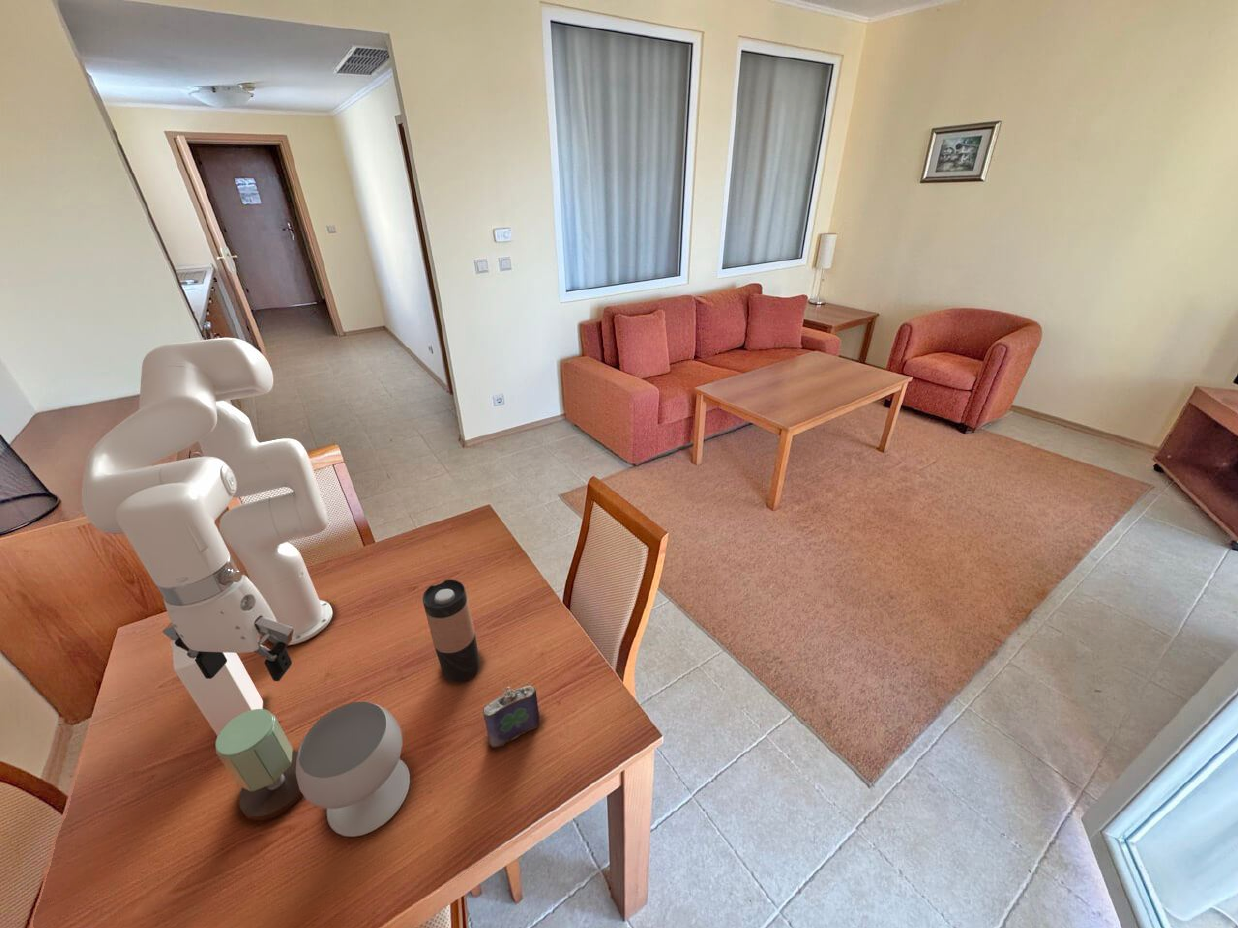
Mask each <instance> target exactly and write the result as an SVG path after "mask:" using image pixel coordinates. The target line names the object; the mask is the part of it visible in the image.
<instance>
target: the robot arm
mask: <svg viewBox="0 0 1238 928" xmlns="http://www.w3.org/2000/svg"><path fill="white" fill-rule="evenodd" d="M269 363H270V362H269V361H268V359H267V358H266V357H265V355H264V354H263V353H262V352H261V351H259V349H257V348H256V347H255V346H254V345H252V344H251V343H249V342H247V341H246V340H242V339H240V338H235V337H221V338H220V337H218V338H212V339H203V340H194V341H185V342H177V343H169V344H165V345H160V346H158V347H156V348H153V349H151V350H150V351H149V352H148V353H147V354H146V355H145V356H144V357H143V360H142V365H141V377H140V389H139V403H138V410H136V411H135V412H133V413H132V414H130V415H129V416H128V417H126V418H124V419H123V420H122V421H120V423H118V424H117V425H115V426H114V427H113V428H111V430H110V431H109V432H107V433H106V434H105V435H103V437H101V438H100V439H99V440H98V441H97V442H96V443H95V444H94V446H93V447H92V448H91V450H90V451H89V453H88V454H87V457H86V459H85V460H86V461H85V464H84V470H83V477H82V484H81V503H82V509H83V512H84V514H85V516H86V518H87V520H88V522H89V523H90V524H91V525H92V526H93V527H94V528H95V529H97V530H99V531H100V532H103V533H106V534H111V535H124V536H125V538H126V539H127V540H128V543H129V544H130V546H131V547H132V549H133V550H134V553H135V554H136V555H137V557H138V559H139V561H140V562H141V564H142V565H143V567H144V568H145V570H146V572H147V574H148V575H149V577H150V578H151V580H152V582H153V583H154V585H155V587H156V588H157V591H158V592H159V593H160V595H161V596H162V599H163V603H164V606H165V609H166V612H167V614H168V617H169V620H170V621H171V622H170V623H169V624H168V625H167V626H166V627H165V628H164V629H163V630H162V633H163V634H164V635H165V636H167V637H168V638H169V639H171V641H175V644H176V646H178V647H180V648H182V649H184V650H186V651H188V652H187V656H188V657H190V658H196V659H195V662H196V663H197V665H198V666H199V668H200V670H201V671H202V673H203V675H204V676H205V678H206V679H211V678H213V677H214V676H215V675H216V674H217V672H218V671H219V670H220V669H221V668H222V667H223V666H224V665H225V664H226V662H227V659H226V657H225V655H224V654H223V652H229V653H237V654H247V653H248V654H249V653H253V652H254V653H256V654H258V655H259V656H261V657H262V658H264V659H265V660H264V662H263V663H264V666H265V667H266V670H267V671H268V674H269V676H270V677H271V679H272V680H273V681H274V682H280V681H281V679H282V678H283V677H284V675H285V674H286V673H287V672H288V671H289V669H290V668H291V666H292V664H293V661H292V659H291V657H290V654H289V652H288V651H287V649H286V648H287V647H288V646H291V645H297V644H300V643H303V642H306V641H308V640H310V639H312V638H313V637H315V636H317V635H318V634H319V633H321V632H322V631H323V630H324V629H326V627H327V626H328V625H329V623H330V622H331V620H332V618H333V614H334V613H333V609H332V605H330V603H329V602H327V601H325V600H323V599H320V598H319V595H318V593H317V590H316V588H315V586H314V583H313V581H312V578H311V576H310V572H309V571H308V568H307V566H306V564H305V561H304V558H303V557H302V554H301V552H300V551H299V550H298V548H296V547H295V546H294V545H293V544H291V543H290V542H293V541H297V540H300V539H304V538H308V537H310V536H314V535H317V534H320V533H322V532H323V531H325V530H326V528H327V527H328V524H329V516H328V512H327V508H326V505H325V501H324V497H323V496H322V493H321V490H320V487H319V483H318V480H317V476H316V474H315V470H314V467H313V465H312V462H311V459H310V457H309V455H308V452H307V450H306V448H305V447H304V446H303V444H302V443H301V442H300V441H298V440H297V439H295V438H291V437H290V438H289V437H286V438H285V437H284V438H277V439H274V440H267V441H263V442H260V441H258V440H257V437H256V434H255V431H254V428H253V426H252V422H251V420H250V419H249V417H248V416H247V415H246V414H245V413H244V412H242V411H241V410H240V409H238V408H237V407H235V406H234V405H233V404H230V403H228V401H232V400H240V399H246V398H251V397H252V398H253V397H257V396H262V395H267V394H268V393H270V392H271V390H272V389H273V387H274V375H273V370H272V367H271V365H270V364H269ZM196 443H198V444H199V445H200V449H201V451H202V452H201V453H202V455H203V456H198V457H192V458H186V459H181V460H175V461H171V462H166V463H164V462H163V463H159V464H158V462H160V461H161V460H164V459H166V458H168V457H169V456H173V455H174V454H177V453H178V452H181V451H183V450H185V449H188V448H189V447H191V446H193V445H194V444H196ZM156 463H157V464H156ZM282 488H288V489H290V490H291V492H288V493H283V494H279V495H276V496H275V495H274V496H271V497H266V498H262V499H258V500H253V501H249V502H245V503H242V504H239V505H237V506H234V507H232V508H230V509H228V510H227V511H226V509H227V508H228V507H229V506H230V504H231V503H232V500H233V499H234V498H235V499H236V498H241V497H249V496H253V495H256V494H261V493H266V492H271V491H274V490H278V489H282ZM224 511H226V512H224ZM222 513H223V515H222V516H221V514H222ZM220 516H221V517H220ZM219 517H220V520H219V529H218V527H217V524H216V523H215V522H216V520H217V519H218V518H219ZM226 544H227V545H226ZM227 546H228V547H229V548H230V549H231V551H232V552H233V553H234V554H235V556H236V557H237V558H238V560H239V562H240V563H241V565H242V566H243V568H244V570H245V572H246V574H247V575H245V574H242V572H241V571H240V570H238V568H237V565H236V562H235V561H234V559H233V557H232V555H231V553H230V550H229V549H228V547H227ZM260 635H261V636H260ZM266 640H267V641H268V642H270V643H272V644H274V645H273V647H272V648H271V649H269V648H267V647H266V646H265V645H263V644H264V643H265V642H266Z"/></svg>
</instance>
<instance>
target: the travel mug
mask: <svg viewBox="0 0 1238 928" xmlns="http://www.w3.org/2000/svg"><path fill="white" fill-rule="evenodd" d="M422 604H423V607H424V611H425V615H426V619H427V623H428V628H429V631H430V635H431V638H432V642H433V643H432V644H433V646H434V649H435V652H436V655H437V658H438V662H439V665H440V667H441V671H442V674H443V676H444V678H445V679H446V680H447V681H448V682H451V683H463V682H467V681H468V680H470V679H471V678H473V677H474V676H475V675H476V674H477V672H478V671H479V669H480V655H479V650H478V644H477V643H478V642H477V637H476V632H475V627H474V622H473V619H472V614H471V609H470V605H469V601H468V596H467V592H466V588H465V585H464V584H463V583H462V582H461V581H459V580H456V579H444V580H443V581H442V582H441V583H438V584H432V585H430V586H429V587H427V588H426V590H425V591H424V592H423V594H422Z"/></svg>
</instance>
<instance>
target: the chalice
mask: <svg viewBox="0 0 1238 928" xmlns="http://www.w3.org/2000/svg"><path fill="white" fill-rule="evenodd" d="M402 748H403V733H402V729H401V727H400V725H399V722H398V721H397V719H396V717H394V716H393V715H392V713H390V711H389V710H388V709H386V708H385V707H383V706H381V705H380V704H377V703H375V702H370V701H354V702H350V703H346V704H343V705H340V706H338V707H336V708H334V709H332V710H331V711H329V712H327V713H326V714H325V715H324V716H322V717H321V718H319V719H318V720H317V721H316V722H315V723H314V724H313V725H312V726H311V727H310V729H309V730H308V731H307V733H306V734H305V736H304V738H303V739H302V741H301V743H300V745H299V748H298V751H297V752H298V755H297V760H296V777H297V782H298V786H299V789H300V791H301V793H302V794H303V796H302V797H303V798H304V799H305V800H306V801H307V802H309V803H310V804H312V805H313V806H316V807H318V808H322V809H326V812H325V813H326V819H327V823H328V825H329V827H330V829H331V830H332V831H334V832H335V833H336V834H339V835H341V836H343V837H352V838H353V837H358V836H364V835H366V834H368V833H371V832H374V831H375V830H377V829H379V828H380V827H382V826H383V825H385V824H386V823H387V822H388V821H389V820H390V819H391V818H393V816H394V815H395V814H396V813H397V812H398V811H399V810H400V808H401V806H402V805H403V803H404V801H405V800H406V797H407V795H408V793H409V788H410V783H411V775H410V770H409V767H408V766H407V764H406V763H405V761H404V760H402V759H401V755H402V754H401V753H402Z"/></svg>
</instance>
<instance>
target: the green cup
mask: <svg viewBox="0 0 1238 928" xmlns="http://www.w3.org/2000/svg"><path fill="white" fill-rule="evenodd" d="M214 746H215V754H216V755H217V758H219V760H220V761H221V763H222V764H223V765H224V767H225V769H226V770H227V771H228V773H229V775H230V777H232V779H233V780H234V782H235V783H236V785H237V786H238V787H240V788H241V789H242V788H244V789H247V790H249V791H255V790H258V789H260V788H263V787H265V786H268V785H270V784H273V783H274V782H276V781H277V779H278V778H279V777H280V776H281V775H282V774H283V773H284V772H285V771H286V770H287V768H288V767H289V766H290V764H291V762H292V752H293V751H294V748H293V746H292V745H291V743H290V741H289V739H288V737H287V735H286V734H285V732H284V730H283V727H282V726H281V724H280V723H279V721H278V719H277V717H276V715H275V714H273V713H271V712H270V710H268V709H265V708H263V709H254V710H250V711H247V712H245V713H243V714H241V715H239V716H237V717H236V718H234V719H233V720H231V721H230V722H229V723H228V724H227V725H226V726H225V727H224V728H223V729H222V730H221V732H220V733H219V735H218V736H216V739H215V744H214Z"/></svg>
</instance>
